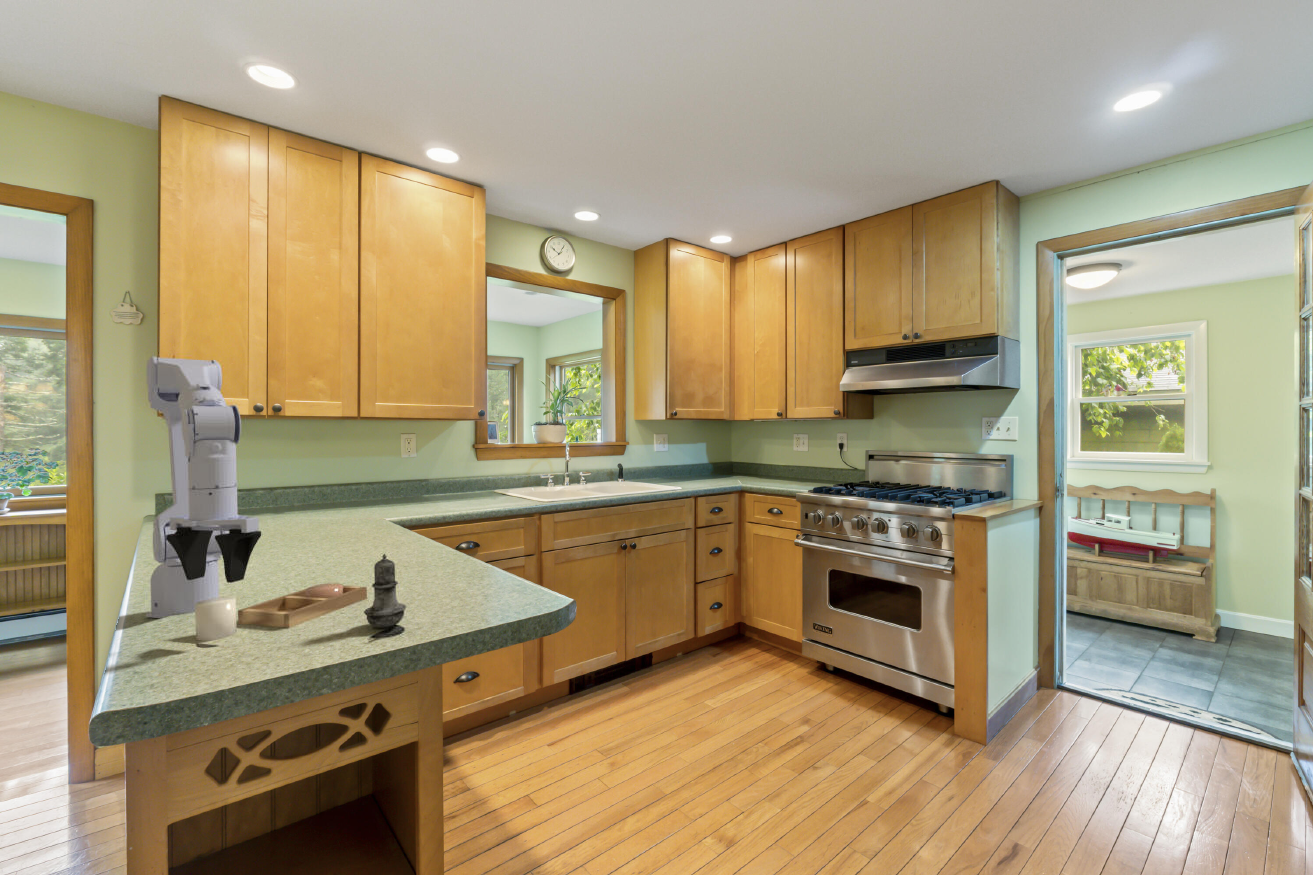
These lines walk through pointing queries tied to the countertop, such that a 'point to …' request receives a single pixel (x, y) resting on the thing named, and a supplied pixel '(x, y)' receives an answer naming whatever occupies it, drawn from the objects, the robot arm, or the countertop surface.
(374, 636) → the salt shaker
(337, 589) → the pinkish tan dome
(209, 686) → the countertop surface
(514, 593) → the countertop surface
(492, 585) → the countertop surface
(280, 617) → the tray
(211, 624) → the cream cylinder
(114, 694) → the countertop surface
